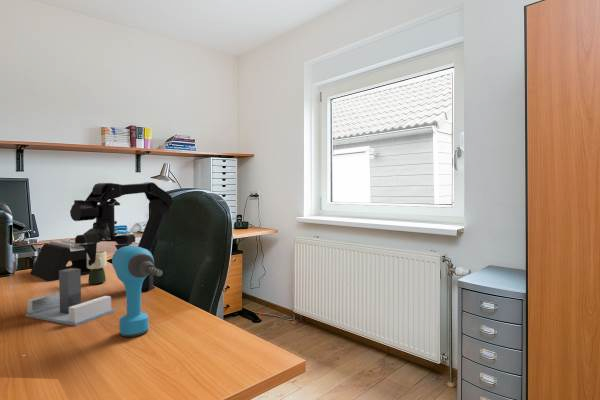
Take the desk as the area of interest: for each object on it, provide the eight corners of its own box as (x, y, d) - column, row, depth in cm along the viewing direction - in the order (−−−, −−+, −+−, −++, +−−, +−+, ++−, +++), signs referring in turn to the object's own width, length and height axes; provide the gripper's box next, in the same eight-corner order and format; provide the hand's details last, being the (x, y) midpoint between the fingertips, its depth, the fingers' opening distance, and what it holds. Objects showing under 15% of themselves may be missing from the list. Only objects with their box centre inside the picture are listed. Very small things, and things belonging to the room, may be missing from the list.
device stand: (82, 266, 181) (82, 237, 180) (104, 272, 168) (103, 241, 167) (30, 275, 163) (29, 242, 162) (49, 282, 149) (48, 247, 149)
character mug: (84, 282, 147) (83, 251, 147) (102, 279, 152) (102, 249, 152) (90, 287, 140) (90, 255, 139) (110, 284, 145) (109, 252, 144)
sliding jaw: (70, 302, 118) (70, 290, 118) (32, 313, 107) (32, 300, 107) (65, 301, 119) (65, 289, 119) (27, 312, 108) (27, 299, 108)
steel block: (72, 308, 112) (71, 268, 112) (81, 310, 111) (80, 269, 110) (59, 312, 108) (59, 270, 108) (68, 314, 107) (68, 271, 107)
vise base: (114, 311, 112) (114, 296, 112) (75, 326, 100) (75, 309, 99) (67, 303, 120) (67, 289, 120) (25, 316, 108) (25, 300, 107)
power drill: (179, 350, 84) (178, 253, 84) (142, 362, 78) (141, 258, 78) (138, 319, 105) (137, 241, 104) (106, 327, 99) (105, 244, 98)
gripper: (62, 220, 115) (63, 268, 115) (117, 221, 114) (118, 268, 114) (85, 218, 126) (86, 261, 126) (135, 218, 125) (136, 262, 125)
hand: (106, 263), depth 123 cm, fingers open, 9 cm apart
